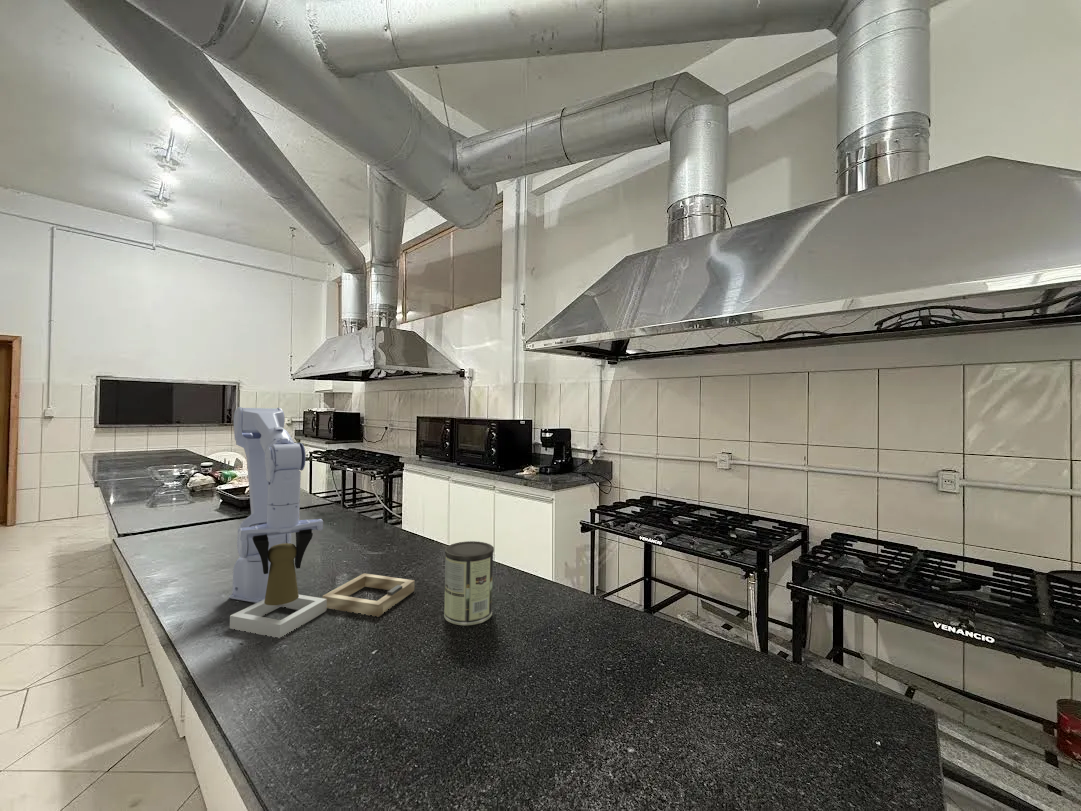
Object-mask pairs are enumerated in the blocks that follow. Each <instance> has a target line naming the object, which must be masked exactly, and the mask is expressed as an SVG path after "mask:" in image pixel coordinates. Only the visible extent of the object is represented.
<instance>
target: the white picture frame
mask: <svg viewBox="0 0 1081 811" xmlns="http://www.w3.org/2000/svg"><path fill="white" fill-rule="evenodd" d="M298 595H299V597H298V599H296V600H295V601H292V602H290V603H286V604H282V605H266V604H265V603H264V601H265V599H264V600H262V601H260V602H258V603H253V604H251V605H249V606H246V607H245V608H243V609H241V610H239V611H236V612H234V613H232V614H231V615H230V616H229V629H230V630H234V629H235V630H236V631H239V630H240V632H244V631H246V632H245V633H250V632H251V633H250V634H255V633H256V635H260V636H265V635H267V636H266V637H270V636H272V637H271V638H275V637H278V638H277V639H281V638H280V637H282V636H283V637H285V636H286V634H287V633H288V634H290V633H291V631H292V632H293V631H295V630H297V629H299V628H300V627H302V626H304V625H305V624H307V623H308V622H310V621H311V620H314V619H315V618H317V617H318V616H320V615H322V614H323V613H325V612H327V609H328V608H327V599H324V598H322V597H318V596H317V597H316V596H311V595H305V594H300V593H298ZM284 607H286V608H285V609H291V610H296V611H295V612H292V613H291V614H289V615H287V616H285V617H284V618H282V619H281V620H280V619H276V618H269V617H265V616H266V615H267V614H269V613H272V612H273V611H275V610H277V609H280V608H284ZM265 614H266V615H265ZM301 625H302V626H301ZM296 628H297V629H296ZM294 629H295V630H294ZM289 632H290V633H289ZM288 634H287V635H288ZM284 635H285V636H284ZM283 637H282V638H283Z"/></svg>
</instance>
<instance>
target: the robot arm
mask: <svg viewBox="0 0 1081 811" xmlns="http://www.w3.org/2000/svg"><path fill="white" fill-rule="evenodd" d="M285 420H286V419H285V412H284V410H283V409H282V408H281V407H277V408H273V407H272V408H271V407H270V408H269V407H267V408H265V407H242V406H238V407H236V409H235V410H234V413H233V435H234V441H235V444H236V446H238V447H241V448H243V450H244V453H245V456H246V466H247V476H248V477H247V478H248V490H249V491H248V492H249V504H250V515H248V516H247V517H246V518H245V519H243V520H242V521H241V522H240V523H239V526H238V527H237V537H236V538H237V539H236V549H237V554H238V556H239V557H238V558H237V560H236V561H235V563H234V564H233V569H232V590H231V592H232V594H230V595H228V598H229V599H232V600H237V601H238V600H239V601H244V602H249V603H253V604H256V603H258V602H260V601H262V600H264V599H265V595H266V589H267V582H268V576H269V570H270V561H269V560H268V551H269V549H270V548H271V547H272V546H274V545H278V544H283V543H291V544H292V534H293V533H295V546H296V548H297V554H296V557H295V558H294V565H295V570H296V569H301V564H302V561H303V557H304V556H305V553H306V550H307V547H308V546H309V543H310V542H311V540H312V539H313V534H314V533H313V532H312V531H323V530H324V529H323V528H324V521H323V519H322V518H317V519H300V506H301V505H300V503H301V477H302V476H301V474H302V472H301V471H304V469H305V466H306V458H307V457H306V448H305V446H304V444H303V443H302V442H294V439H293V438H292V436H291V435H290V432H288V431H287V429H285Z"/></svg>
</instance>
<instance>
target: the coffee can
mask: <svg viewBox="0 0 1081 811" xmlns="http://www.w3.org/2000/svg"><path fill="white" fill-rule="evenodd" d="M494 551H495V547H494V546H493V545H491V544H490V543H487V542H484V541H473V540H472V541H471V540H469V541H460V542H455V543H452V544H449V545H447V546H446V547H445V549H444V555H445V562H444V565H445V568H444V569H445V570H444V571H445V572H444V611H443V612H444V614H443V618H444V619H445V621H447V622H448V623H451V624H453V625H458V626H475V625H479V624H482V623H485V622H486V621H488V620H490V618H491V617H492V616H493V578H494V576H493V572H494V568H493V567H494Z"/></svg>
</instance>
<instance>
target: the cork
mask: <svg viewBox="0 0 1081 811" xmlns="http://www.w3.org/2000/svg"><path fill="white" fill-rule="evenodd" d="M296 554H297V548H296V544H295V543H292V542H291V543H283V544H278V545H274V546H272V547H271V548H270V549H269V551H268V560H269V561H270V570H269V576H268V582H267V589H266V595H265V601H264V603H265V604H266V605H282V604H286V603H290V602H292V601H295V600H296V599H298V597H299V595H300V594H299V589H298V581H297V575H296V567H295V557H296ZM298 594H299V595H298Z"/></svg>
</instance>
